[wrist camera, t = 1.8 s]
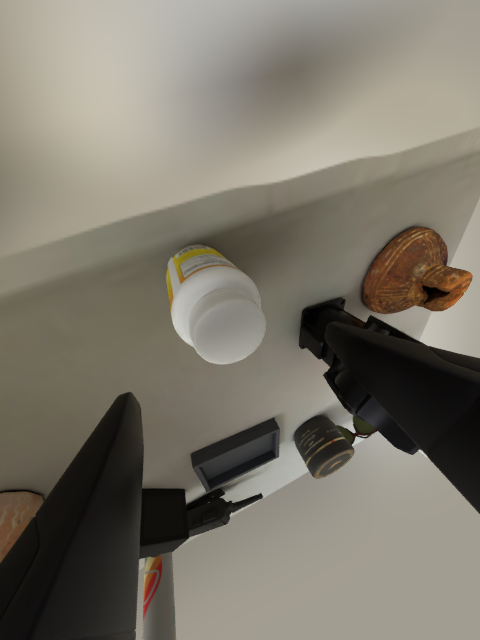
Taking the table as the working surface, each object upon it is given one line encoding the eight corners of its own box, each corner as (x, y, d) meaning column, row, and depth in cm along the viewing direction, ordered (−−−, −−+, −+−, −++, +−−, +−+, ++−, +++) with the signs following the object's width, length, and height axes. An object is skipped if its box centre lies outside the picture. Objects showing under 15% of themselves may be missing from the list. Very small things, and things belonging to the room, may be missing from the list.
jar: (282, 442, 43) (303, 482, 37) (311, 411, 40) (339, 449, 34) (309, 442, 48) (331, 477, 42) (336, 415, 46) (363, 448, 40)
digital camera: (113, 507, 33) (105, 571, 27) (134, 488, 32) (129, 549, 26) (166, 505, 39) (168, 556, 33) (184, 489, 38) (189, 538, 33)
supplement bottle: (203, 311, 20) (235, 387, 12) (152, 281, 17) (149, 356, 9) (237, 267, 19) (298, 319, 11) (190, 227, 16) (226, 257, 8)
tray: (274, 417, 36) (279, 428, 35) (274, 447, 43) (279, 457, 41) (190, 454, 33) (192, 467, 31) (204, 479, 39) (206, 492, 37)
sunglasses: (367, 407, 50) (385, 425, 47) (357, 429, 60) (371, 446, 56) (320, 433, 48) (335, 455, 44) (317, 452, 58) (329, 471, 54)
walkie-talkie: (162, 527, 38) (258, 486, 40) (172, 503, 44) (254, 469, 46) (170, 562, 37) (268, 519, 39) (179, 533, 43) (263, 497, 45)
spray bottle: (140, 546, 45) (131, 741, 29) (163, 532, 45) (167, 715, 29) (154, 548, 48) (153, 723, 32) (175, 535, 49) (185, 700, 33)
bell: (415, 292, 32) (473, 313, 26) (355, 320, 30) (403, 349, 24) (442, 214, 25) (528, 218, 19) (367, 243, 23) (437, 258, 17)
